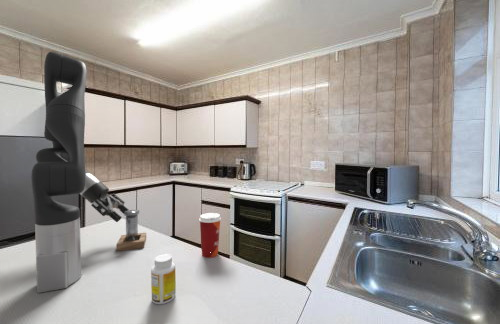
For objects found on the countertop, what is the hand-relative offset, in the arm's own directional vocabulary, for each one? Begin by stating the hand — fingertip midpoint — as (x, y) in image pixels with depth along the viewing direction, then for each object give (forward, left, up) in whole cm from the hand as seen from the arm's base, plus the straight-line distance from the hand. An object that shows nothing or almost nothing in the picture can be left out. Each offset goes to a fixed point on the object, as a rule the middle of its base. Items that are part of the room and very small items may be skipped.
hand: (124, 216), depth 83 cm
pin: (-1, -3, -11) cm, 11 cm away
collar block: (-1, -3, -11) cm, 11 cm away
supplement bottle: (-38, -15, -11) cm, 42 cm away
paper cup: (-19, -30, -11) cm, 37 cm away
